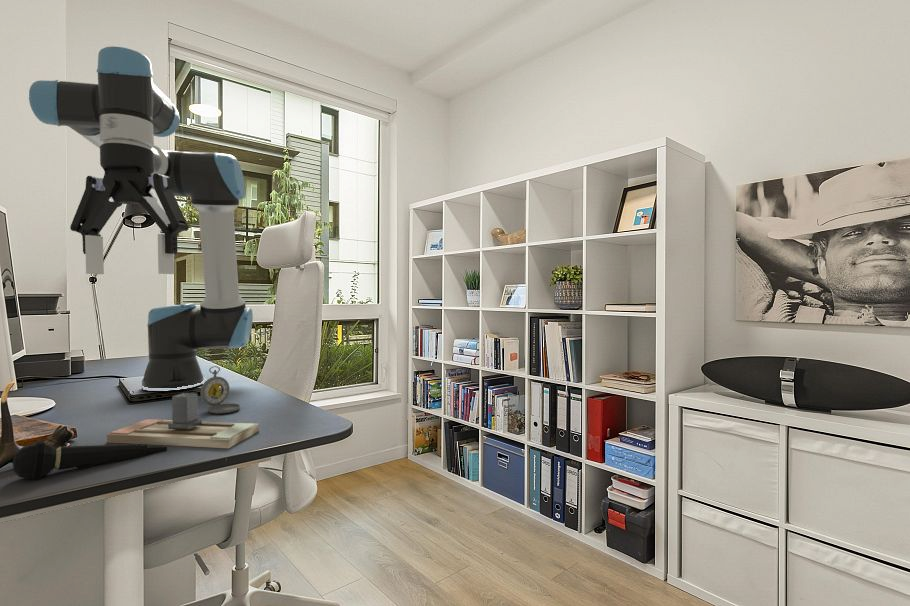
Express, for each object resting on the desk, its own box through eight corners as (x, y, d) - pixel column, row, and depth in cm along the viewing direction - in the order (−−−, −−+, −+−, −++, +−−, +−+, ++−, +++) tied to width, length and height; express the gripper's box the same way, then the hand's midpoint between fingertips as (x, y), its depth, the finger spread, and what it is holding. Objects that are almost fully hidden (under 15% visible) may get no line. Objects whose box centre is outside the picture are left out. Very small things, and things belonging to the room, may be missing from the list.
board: (148, 426, 99) (148, 417, 98) (258, 431, 96) (258, 421, 95) (106, 442, 89) (106, 432, 89) (228, 448, 86) (228, 437, 86)
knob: (183, 422, 94) (182, 392, 94) (202, 423, 94) (201, 393, 94) (168, 428, 90) (167, 397, 90) (188, 429, 90) (187, 397, 90)
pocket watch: (232, 415, 107) (231, 370, 107) (194, 415, 107) (193, 370, 107) (247, 405, 116) (247, 364, 115) (212, 405, 116) (211, 364, 115)
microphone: (161, 466, 86) (9, 483, 72) (163, 433, 87) (14, 443, 74) (170, 465, 82) (10, 482, 68) (171, 430, 84) (16, 440, 70)
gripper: (41, 143, 79) (44, 273, 80) (178, 137, 75) (181, 273, 76) (82, 155, 87) (85, 274, 87) (209, 150, 83) (212, 274, 84)
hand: (130, 274), depth 82 cm, fingers open, 13 cm apart
